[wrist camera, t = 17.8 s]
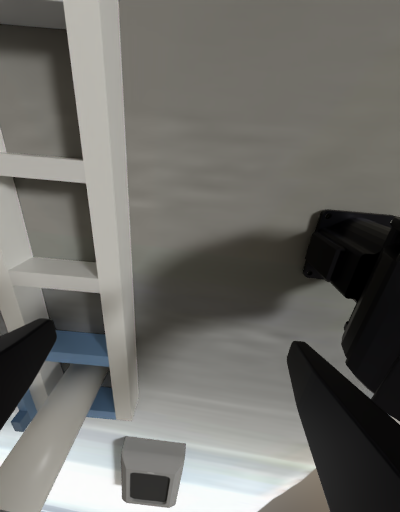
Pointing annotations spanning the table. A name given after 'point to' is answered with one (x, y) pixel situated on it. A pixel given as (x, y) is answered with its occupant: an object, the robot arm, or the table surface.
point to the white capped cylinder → (48, 440)
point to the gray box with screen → (151, 471)
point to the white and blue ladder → (101, 212)
